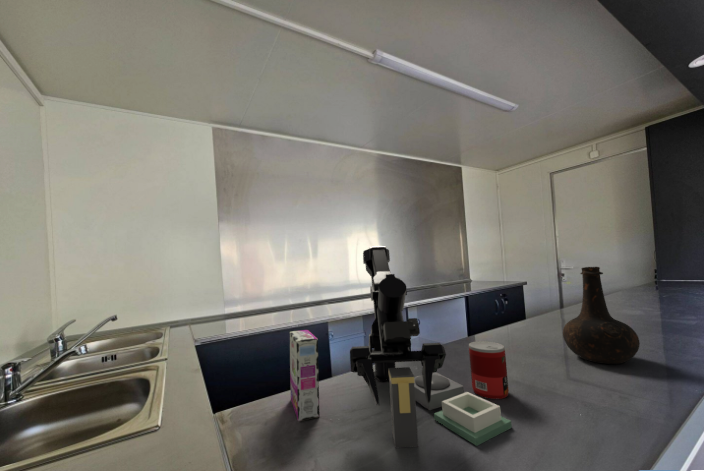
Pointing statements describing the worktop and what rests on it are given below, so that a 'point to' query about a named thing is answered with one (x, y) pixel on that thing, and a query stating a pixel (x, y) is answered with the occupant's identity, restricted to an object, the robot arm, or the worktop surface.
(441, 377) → the grey domed square block
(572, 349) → the glass bottle
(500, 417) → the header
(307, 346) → the candy bar box
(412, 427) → the dark grey tall block
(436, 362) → the robot arm
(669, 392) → the worktop surface
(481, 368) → the canned food
